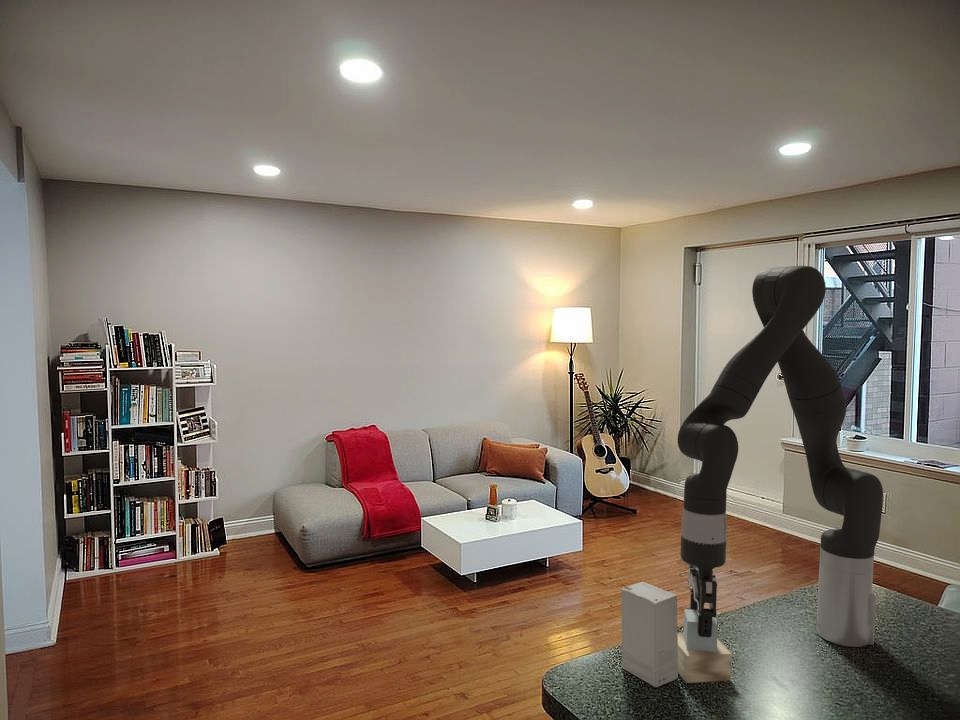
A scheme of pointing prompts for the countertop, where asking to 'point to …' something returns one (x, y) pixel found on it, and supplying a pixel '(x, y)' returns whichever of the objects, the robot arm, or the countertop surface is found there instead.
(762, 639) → the countertop surface
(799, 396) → the robot arm
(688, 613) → the grey-blue cube
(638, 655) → the skincare box
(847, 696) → the countertop surface
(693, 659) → the birch block
